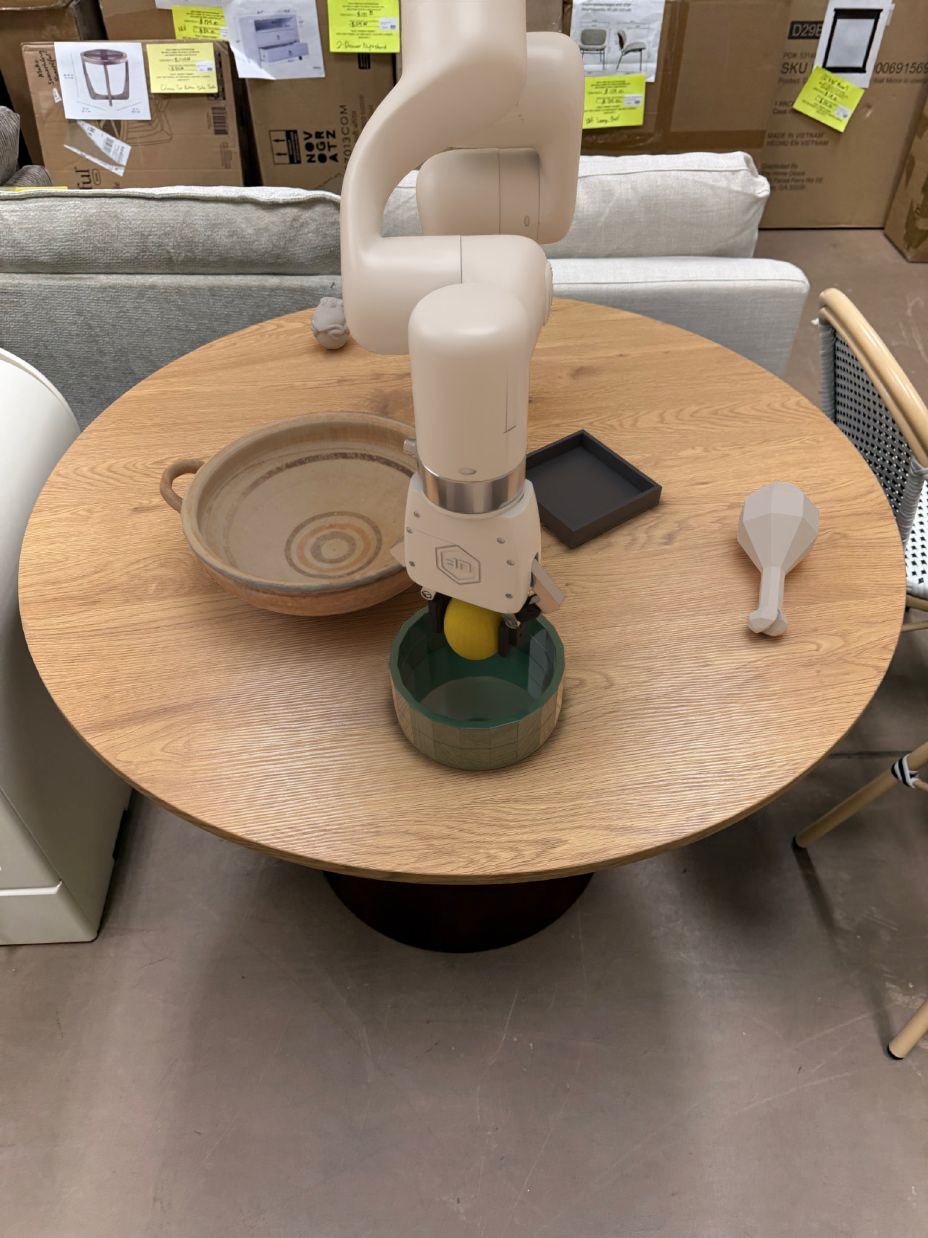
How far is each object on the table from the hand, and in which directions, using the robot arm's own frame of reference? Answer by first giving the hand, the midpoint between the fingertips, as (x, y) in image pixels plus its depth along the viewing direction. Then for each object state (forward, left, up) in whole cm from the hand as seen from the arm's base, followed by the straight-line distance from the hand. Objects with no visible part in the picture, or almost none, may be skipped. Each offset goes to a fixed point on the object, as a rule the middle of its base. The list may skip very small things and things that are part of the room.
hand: (476, 632), depth 71 cm
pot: (0, 0, -9) cm, 9 cm away
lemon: (0, 0, -3) cm, 3 cm away
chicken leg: (+6, +34, -9) cm, 35 cm away
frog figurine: (-66, +20, -9) cm, 69 cm away
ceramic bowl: (-25, -2, -9) cm, 26 cm away
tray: (-18, +27, -9) cm, 33 cm away
